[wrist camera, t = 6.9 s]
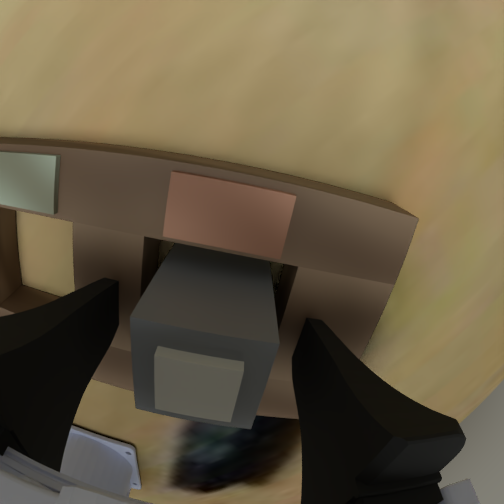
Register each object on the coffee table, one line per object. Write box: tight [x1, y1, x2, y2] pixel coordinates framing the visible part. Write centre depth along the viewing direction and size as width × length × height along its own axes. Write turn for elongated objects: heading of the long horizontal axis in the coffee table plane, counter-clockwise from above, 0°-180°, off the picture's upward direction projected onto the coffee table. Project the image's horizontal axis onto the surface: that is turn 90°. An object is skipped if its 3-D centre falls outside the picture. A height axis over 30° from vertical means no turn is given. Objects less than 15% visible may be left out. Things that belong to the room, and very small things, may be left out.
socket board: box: [0, 137, 419, 419], centre depth 12 cm, size 11×22×3 cm, turn 78°
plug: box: [130, 243, 280, 429], centre depth 11 cm, size 4×4×6 cm
